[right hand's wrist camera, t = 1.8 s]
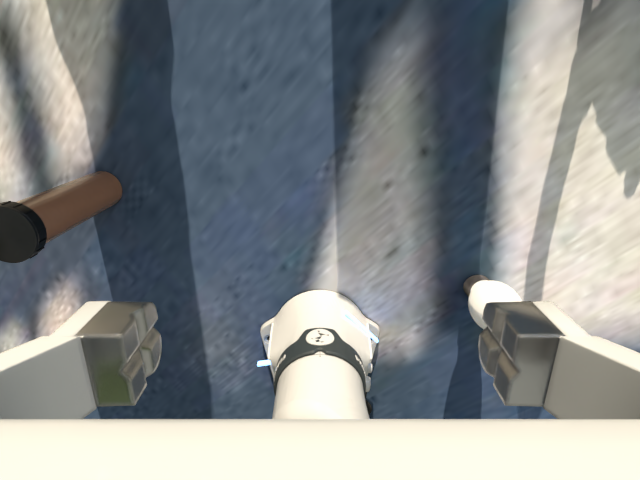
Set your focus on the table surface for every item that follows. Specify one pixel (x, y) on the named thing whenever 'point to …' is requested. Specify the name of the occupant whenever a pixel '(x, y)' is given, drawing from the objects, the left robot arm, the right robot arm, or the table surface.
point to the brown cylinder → (74, 202)
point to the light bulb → (486, 295)
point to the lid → (20, 232)
